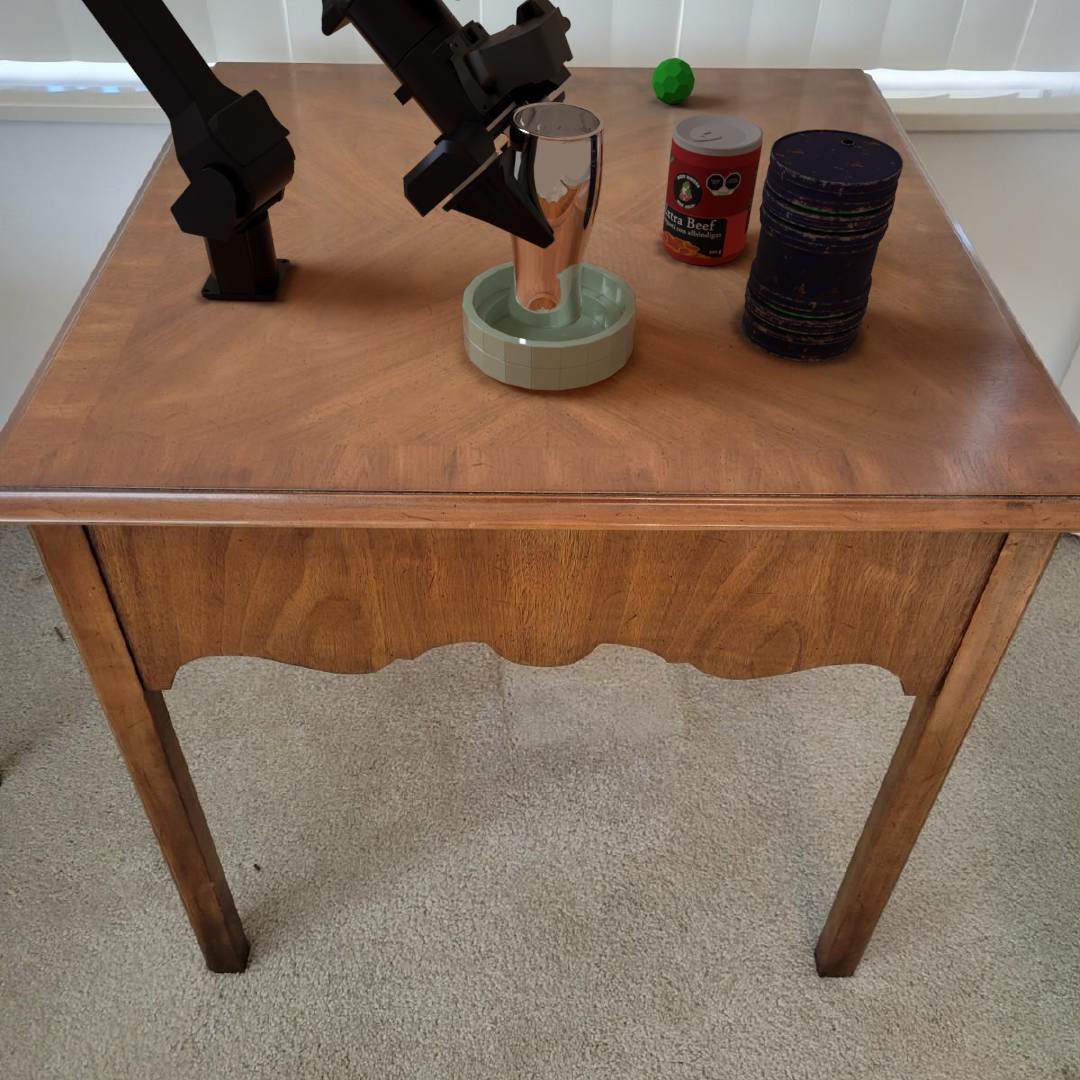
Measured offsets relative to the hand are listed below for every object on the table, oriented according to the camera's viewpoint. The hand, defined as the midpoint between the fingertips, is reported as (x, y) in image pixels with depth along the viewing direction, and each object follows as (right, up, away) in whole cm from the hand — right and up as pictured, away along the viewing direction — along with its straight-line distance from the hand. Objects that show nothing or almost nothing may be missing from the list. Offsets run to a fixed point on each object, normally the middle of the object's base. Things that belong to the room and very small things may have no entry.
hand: (566, 223), depth 75 cm
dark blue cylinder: (+20, -6, +11) cm, 23 cm away
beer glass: (-2, -5, +6) cm, 8 cm away
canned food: (+13, +4, +21) cm, 25 cm away
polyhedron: (+14, +29, +47) cm, 57 cm away
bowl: (-1, -8, +8) cm, 11 cm away
